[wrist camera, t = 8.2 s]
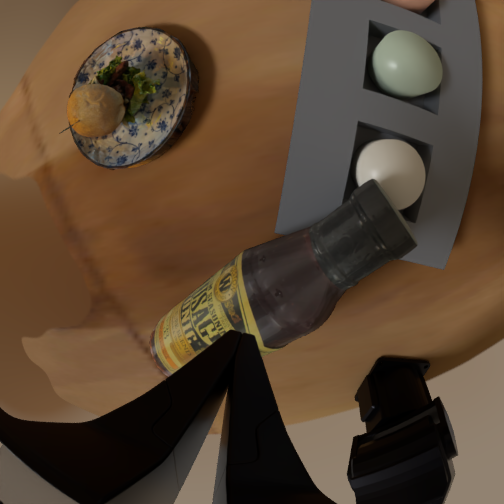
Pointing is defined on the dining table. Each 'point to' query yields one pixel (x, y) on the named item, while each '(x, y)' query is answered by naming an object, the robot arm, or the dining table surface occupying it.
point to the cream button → (390, 169)
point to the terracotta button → (411, 4)
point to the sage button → (405, 65)
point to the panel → (385, 116)
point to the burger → (132, 98)
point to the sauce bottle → (286, 281)
